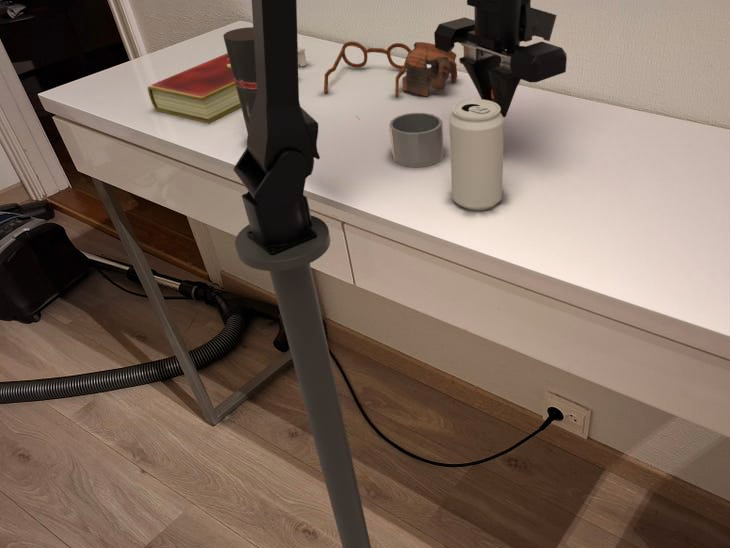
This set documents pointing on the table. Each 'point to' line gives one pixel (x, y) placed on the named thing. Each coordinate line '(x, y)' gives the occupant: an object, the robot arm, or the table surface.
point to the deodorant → (243, 67)
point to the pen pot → (417, 139)
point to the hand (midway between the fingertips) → (497, 115)
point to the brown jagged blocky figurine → (428, 69)
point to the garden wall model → (301, 57)
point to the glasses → (380, 50)
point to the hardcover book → (198, 92)
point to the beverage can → (476, 153)
